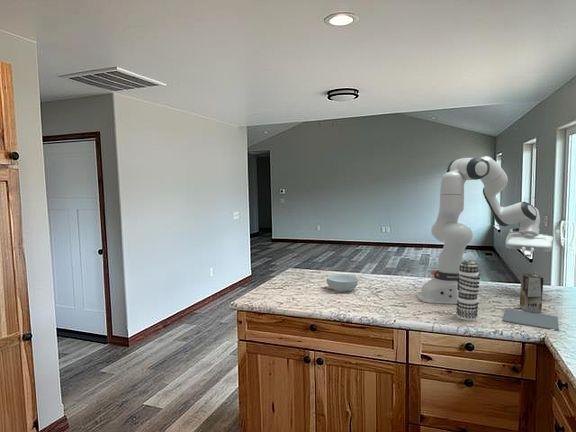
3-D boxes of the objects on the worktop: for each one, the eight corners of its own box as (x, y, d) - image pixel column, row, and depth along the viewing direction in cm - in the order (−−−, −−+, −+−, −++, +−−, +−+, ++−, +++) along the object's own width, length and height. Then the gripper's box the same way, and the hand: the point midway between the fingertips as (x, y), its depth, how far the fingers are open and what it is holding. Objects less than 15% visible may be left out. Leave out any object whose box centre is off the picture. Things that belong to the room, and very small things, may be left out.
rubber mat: (558, 331, 157) (559, 329, 157) (501, 321, 168) (502, 320, 168) (557, 317, 173) (557, 316, 172) (505, 309, 183) (505, 308, 183)
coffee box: (542, 313, 179) (544, 278, 177) (526, 312, 180) (528, 277, 179) (533, 306, 188) (535, 273, 186) (519, 306, 189) (520, 272, 188)
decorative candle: (483, 320, 169) (485, 262, 167) (462, 321, 169) (464, 263, 166) (471, 313, 178) (473, 258, 176) (451, 313, 178) (453, 258, 175)
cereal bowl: (322, 292, 212) (322, 279, 211) (331, 284, 227) (331, 272, 227) (354, 296, 206) (354, 282, 205) (360, 287, 221) (360, 275, 220)
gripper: (553, 239, 200) (552, 261, 193) (506, 236, 212) (504, 257, 204) (553, 231, 196) (552, 254, 189) (506, 228, 207) (504, 250, 200)
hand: (527, 255), depth 197 cm, fingers closed
